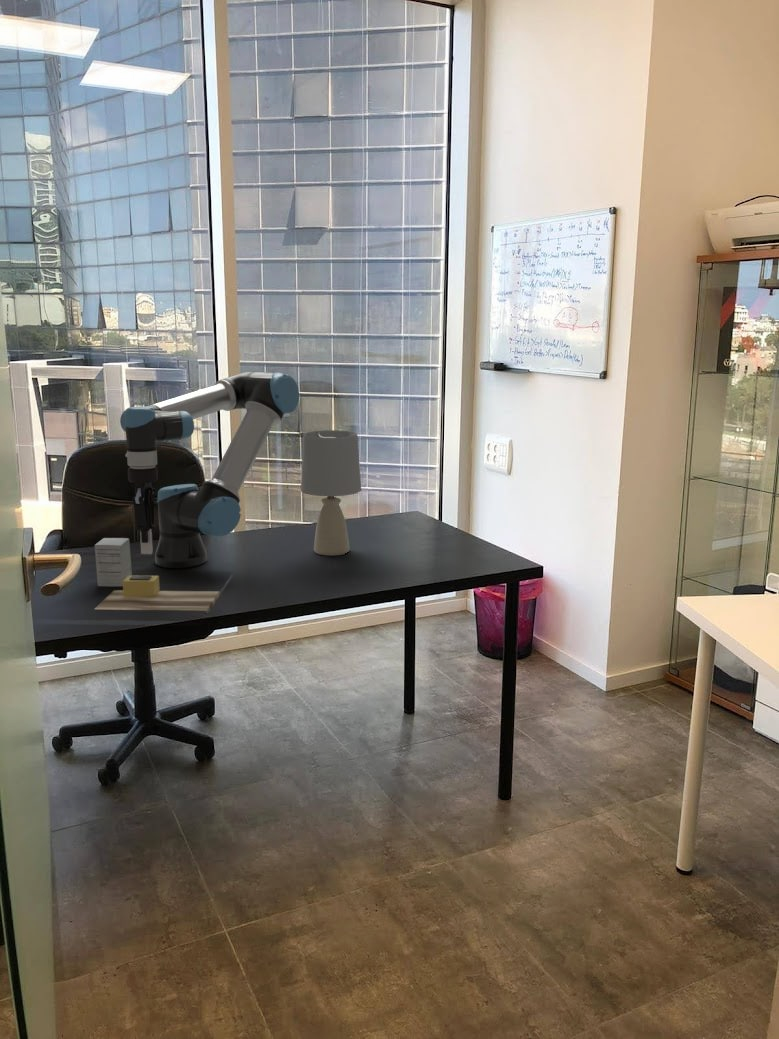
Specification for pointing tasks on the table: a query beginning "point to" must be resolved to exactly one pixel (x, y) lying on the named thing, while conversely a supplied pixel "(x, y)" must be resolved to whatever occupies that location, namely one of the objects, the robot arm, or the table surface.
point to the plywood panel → (161, 601)
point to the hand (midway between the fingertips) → (146, 553)
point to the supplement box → (113, 561)
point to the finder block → (141, 585)
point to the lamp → (330, 483)
